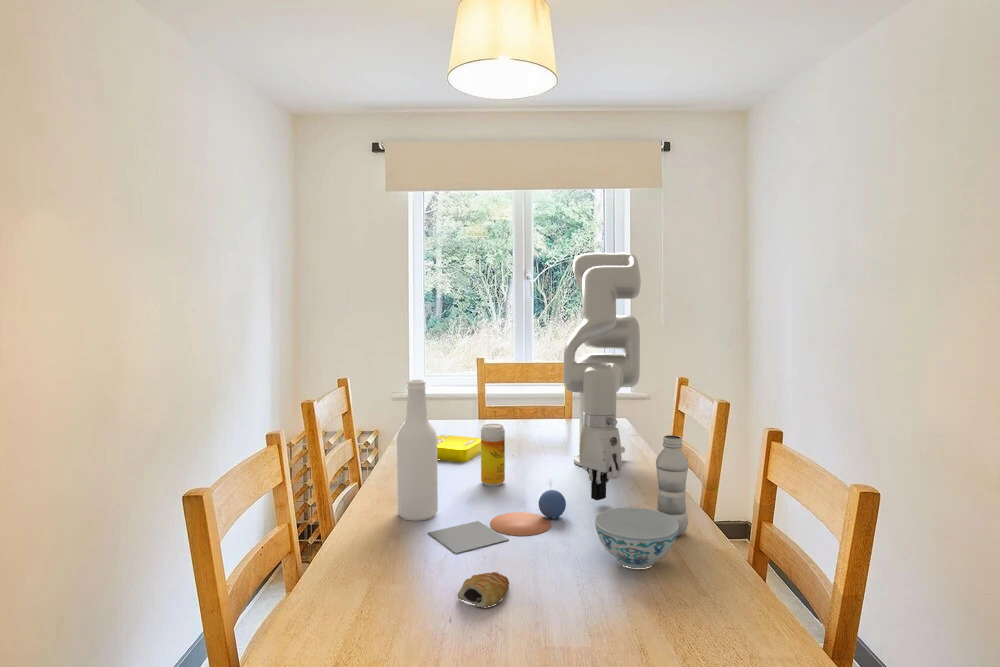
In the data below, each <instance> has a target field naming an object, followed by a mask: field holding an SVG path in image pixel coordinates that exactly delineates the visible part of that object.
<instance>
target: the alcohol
mask: <svg viewBox="0 0 1000 667" xmlns="http://www.w3.org/2000/svg"><path fill="white" fill-rule="evenodd" d="M426 383H427V382H426V381H425V380H424V379H410V380H408V381H407V400H406V401H407V402H406V415H405V420H404V423H403V424H402V426H401V427H400V429H399V430H398V433H397V435H396V436H397V437H396V460H397V462H396V463H397V464H396V467H397V468H396V469H397V471H396V472H397V474H396V475H397V476H396V477H397V479H396V480H397V481H396V482H397V485H396V486H397V513H398V515H399V516H400V518H401V519H402V518H403V519H402V520H406V521H409V520H410V521H409V522H422V520H423V521H428V520H431V519H433V518H434V517H435V516H436V515H437V512H438V510H439V509H438V508H439V504H438V499H439V497H438V494H439V492H438V484H439V483H438V460H437V437H438V436H437V432H436V429H435V427H434V426H433V425H432V424H431V422H430V421H429V417H428V409H427V408H428V406H427V396H426V388H427V387H426Z"/></svg>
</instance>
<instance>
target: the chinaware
mask: <svg viewBox="0 0 1000 667" xmlns="http://www.w3.org/2000/svg"><path fill="white" fill-rule="evenodd" d="M594 524H595V530H596V533H597V535H598V538H599V541H600V542H601V544H602V545H603V547H604V548H605V550H606V551H607V552H608V553H609V554H610V555H611V556H612V557H613V558H615V559H616V562H617V561H618V562H619V563H620V564H621V565H624V566H628V567H631V568H646V567H650V566H652V565H653V564H654V565H655V563H656V562H658V561H660V560H661V559H662V558H664V557H665V556H666V555H667V554H668V553H669V552H670V550H671V549H672V547H673V546H674V544H675V542H676V539H677V537H678V536H677V533H678V529H679V524H678V522H677V521H676V520H675V519H674V518H672V517H671V516H669V515H667V514H664V513H662V512H658V511H656V510H655V509H650V508H649V509H648V508H641V507H629V506H626V507H614V508H609V509H606V510H603V511H600V512H599V513H598V514H596V515H595V518H594ZM618 562H617V563H618ZM621 565H620V566H621Z"/></svg>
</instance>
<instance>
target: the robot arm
mask: <svg viewBox="0 0 1000 667" xmlns="http://www.w3.org/2000/svg"><path fill="white" fill-rule="evenodd" d="M572 270H573V275H574V279H575V282H576V285H577V288H578V289H579V292H580V296H581V302H582V303H581V304H582V307H581V308H582V311H581V312H582V313H581V314H582V315H581V318H582V320H581V324H580V325H579V326H578V327H577V328H576V329H575V330H574V331H573V332H572V334H571V335H570V336H569V337H568V340H567V342H566V343H565V347H564V352H563V366H562V368H563V370H562V371H563V374H562V377H563V378H562V381H563V385H564V388H565V389H566V390H567V391H568V392H570V393H573V394H579V438H578V439H579V450H578V451H579V452H578V454H577V455H575V456H574V458H573V462H574V464H575V465H577V466H580V467H581V468H582V469H583V470H585V472H587V474H588V477H589V478H588V479H589V481H590V484H591V487H590V492H591V493H590V498H591V499H592V500H595V501H601V500H604V499H606V498H607V483H608V482H609V480H614V479H617V478H618V474H617V471H621V469H622V462H623V461H622V460H623V458H622V454H624V453H625V452H626V448H625V446H622V443H621V437H620V436H621V435H620V431H619V428H618V427H617V424H618V420H617V393H618V392H619V391H620V389H621V388H632V387H633V388H634V387H636V386H637V385H638V383H639V380H640V372H641V369H640V368H641V366H640V365H641V356H640V355H641V347H640V346H641V333H640V324H639V321H638V319H637V318H636V317H634V316H633V315H629V314H627V315H626V314H622V315H621V314H617V300H619V299H620V300H622V299H623V300H627V299H629V300H630V299H635V298H637V297H639V294H640V290H641V281H642V280H641V272H640V271H641V270H640V267H639V261H638V259H637V257H636V255H635V254H633V253H627V252H619V253H618V252H615V253H614V252H591V253H583V254H579V255H577V256H576V257H574V259H573V262H572ZM583 344H584V345H585V347H588V348H590V349H611V350H612V349H613V350H614V349H615V350H616V349H617V350H618V349H619V350H621V351H623V353H609V352H608V353H607V352H604V353H603V352H598V353H597V352H591V353H586V354H583V355H582V356H580V357H579V358H578V360H577V361H576V360H575V359H576V353H577V351H578V349H579V348H580V346H582V345H583Z"/></svg>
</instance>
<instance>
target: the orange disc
mask: <svg viewBox="0 0 1000 667" xmlns="http://www.w3.org/2000/svg"><path fill="white" fill-rule="evenodd" d="M489 524H490V527H491V529H492V530H494V531H495V530H496V532H497V533H499V534H503V535H507V534H509V536H514V535H517V537H518V536H519V537H526V536H527V535H529V536H534V535H535V534H536V535H539V533H540V534H543V533H544V532H547V531H549V529H551V526H552V522H551V520H550V518H548V517H546V516H544V515H541V514H538V513H533V512H527V511H526V512H525V511H524V512H523V511H521V512H520V511H519V512H518V511H517V512H515V511H514V512H505V513H502V514H499V515H496V516H494V517H493V518H491V520H490V521H489ZM542 532H543V533H542Z"/></svg>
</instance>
